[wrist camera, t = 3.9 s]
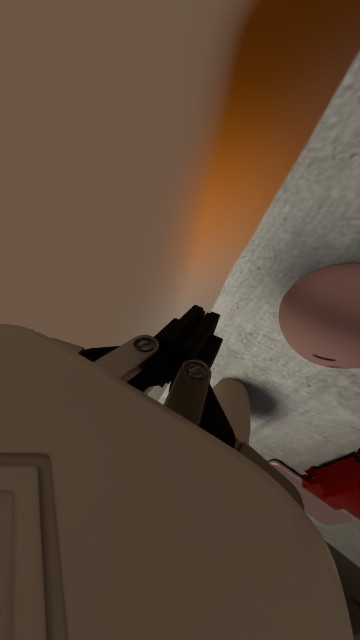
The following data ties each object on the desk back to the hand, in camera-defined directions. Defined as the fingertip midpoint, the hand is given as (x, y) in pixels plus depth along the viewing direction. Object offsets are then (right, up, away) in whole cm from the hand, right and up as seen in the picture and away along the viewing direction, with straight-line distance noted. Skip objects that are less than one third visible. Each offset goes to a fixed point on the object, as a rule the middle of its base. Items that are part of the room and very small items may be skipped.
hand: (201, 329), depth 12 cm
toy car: (+24, -22, +17) cm, 37 cm away
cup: (+8, -11, +21) cm, 25 cm away
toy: (+15, +3, +8) cm, 17 cm away
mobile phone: (+21, -31, +24) cm, 45 cm away
